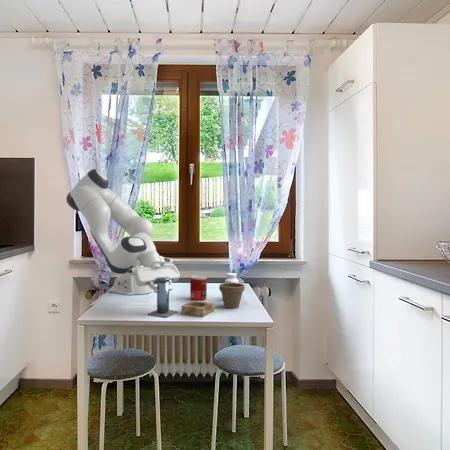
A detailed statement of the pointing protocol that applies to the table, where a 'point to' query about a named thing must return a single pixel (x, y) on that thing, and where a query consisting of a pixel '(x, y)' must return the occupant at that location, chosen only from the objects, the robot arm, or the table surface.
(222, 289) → the flower pot
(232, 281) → the supplement bottle
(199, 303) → the bore block
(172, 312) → the mat
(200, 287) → the canned food
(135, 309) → the table surface
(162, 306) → the plunger
